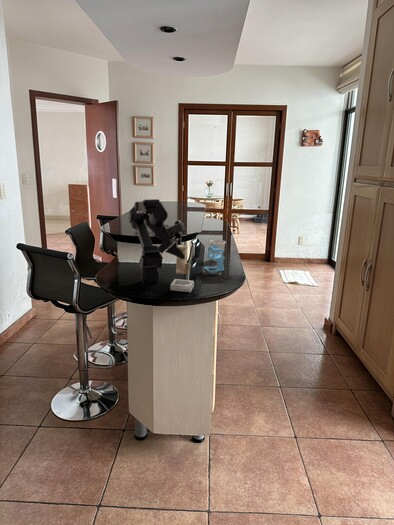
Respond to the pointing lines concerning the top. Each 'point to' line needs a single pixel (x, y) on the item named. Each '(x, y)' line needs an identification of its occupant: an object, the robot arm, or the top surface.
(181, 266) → the keyed post
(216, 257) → the chair
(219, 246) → the dixie cup
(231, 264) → the top surface
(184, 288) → the socket plate
